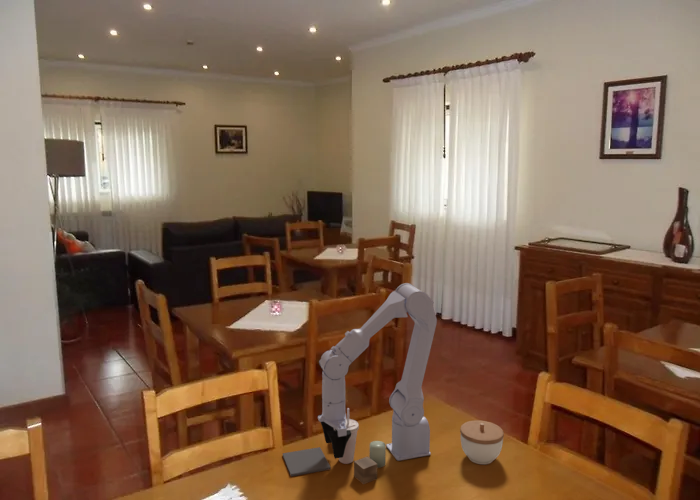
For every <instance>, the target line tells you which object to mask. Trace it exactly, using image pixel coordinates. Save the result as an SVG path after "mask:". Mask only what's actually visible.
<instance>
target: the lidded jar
mask: <svg viewBox="0 0 700 500" xmlns="http://www.w3.org/2000/svg"><path fill="white" fill-rule="evenodd" d="M459 430H460V431H459V432H460V443H461V449H462V451H463V452H464V454H465V455H466V457H467V458H468V459H469V460H470V462H472V463H474V464H477V465H490V464H491V463H493V461H495V460H496V459H497V458H498V456H499V455H500V453H501V451H502V449H503V448H502V447H503V442H504V433H505V432H504V429H502V428H501V426H499V425H497V424H495V423H494V422H491V421H486V420H480V419H479V420H469V421H466V422H464V423H462V424H461V426H460V428H459Z"/></svg>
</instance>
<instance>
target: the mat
mask: <svg viewBox="0 0 700 500" xmlns="http://www.w3.org/2000/svg"><path fill="white" fill-rule="evenodd" d="M282 457H283V460H284V462H285V465H286V468H287V471H288V473H289V476H290V477H295V476H302V475H307V474H312V473H317V472H323V471H329V470H331V468H332V467H331V465H330V463H329V461H328V459H327V458H326V456H325V453H324V452H323V450H322V448H321V446H320V447H313V448H306V449H302V450H295V451H290V452H289V451H288V452H284V453H282Z"/></svg>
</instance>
